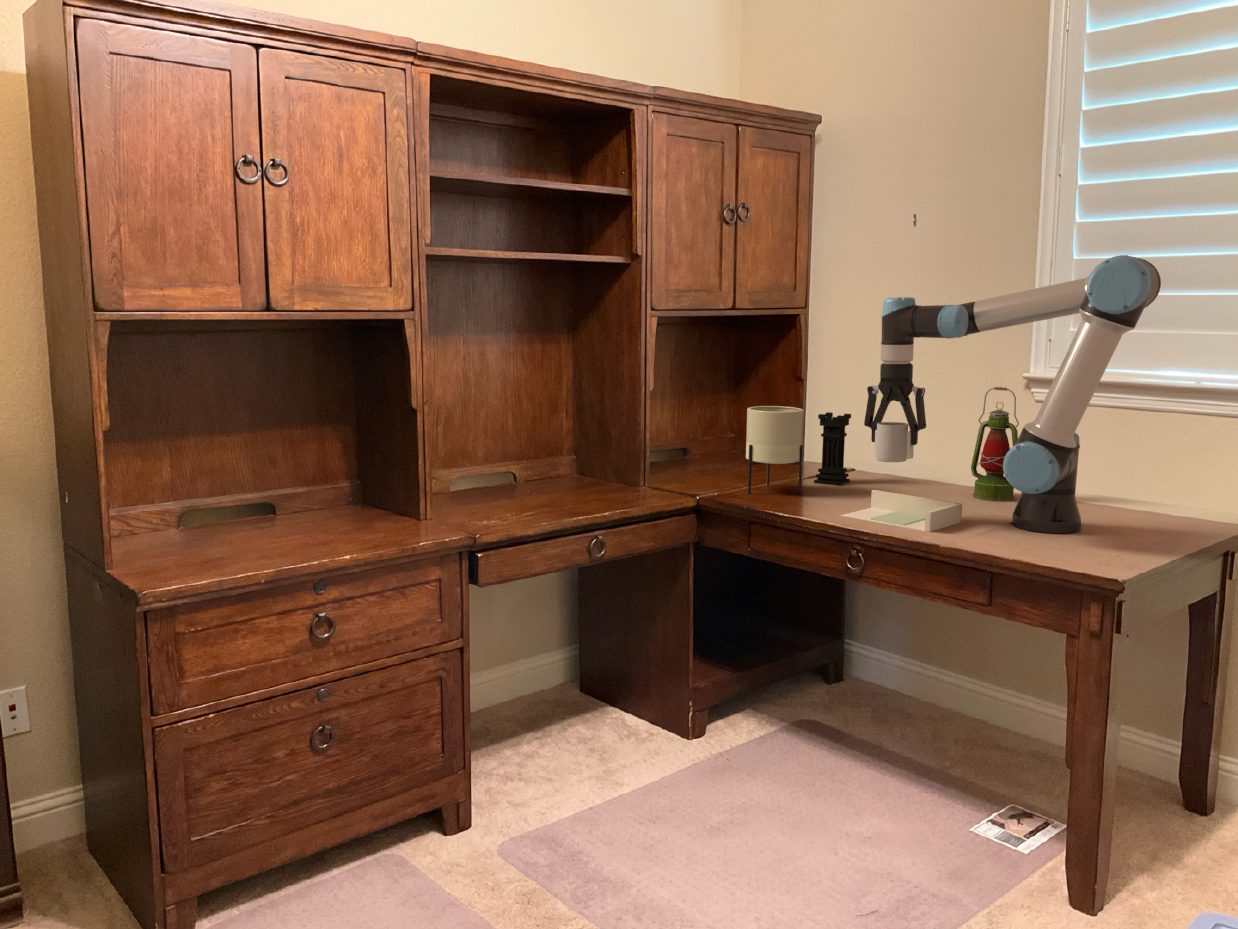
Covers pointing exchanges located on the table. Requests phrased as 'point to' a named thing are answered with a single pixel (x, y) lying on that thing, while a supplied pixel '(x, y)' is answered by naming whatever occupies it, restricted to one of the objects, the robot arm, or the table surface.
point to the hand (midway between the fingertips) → (893, 456)
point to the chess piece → (833, 449)
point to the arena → (911, 510)
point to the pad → (899, 518)
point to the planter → (774, 438)
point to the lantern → (994, 455)
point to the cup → (891, 441)
